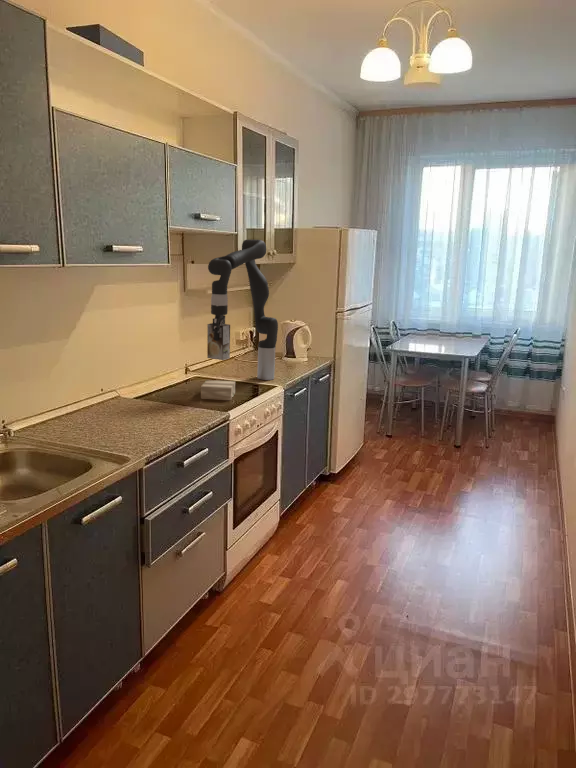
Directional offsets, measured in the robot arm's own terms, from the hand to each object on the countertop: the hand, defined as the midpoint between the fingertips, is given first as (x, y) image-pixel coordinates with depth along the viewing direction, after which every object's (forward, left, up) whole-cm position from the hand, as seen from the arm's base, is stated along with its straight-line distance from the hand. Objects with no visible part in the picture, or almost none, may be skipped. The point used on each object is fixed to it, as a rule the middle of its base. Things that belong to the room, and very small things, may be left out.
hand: (218, 339), depth 263 cm
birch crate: (+1, 0, -27) cm, 27 cm away
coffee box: (0, 0, -9) cm, 9 cm away
